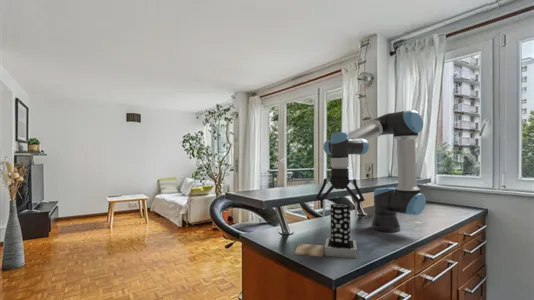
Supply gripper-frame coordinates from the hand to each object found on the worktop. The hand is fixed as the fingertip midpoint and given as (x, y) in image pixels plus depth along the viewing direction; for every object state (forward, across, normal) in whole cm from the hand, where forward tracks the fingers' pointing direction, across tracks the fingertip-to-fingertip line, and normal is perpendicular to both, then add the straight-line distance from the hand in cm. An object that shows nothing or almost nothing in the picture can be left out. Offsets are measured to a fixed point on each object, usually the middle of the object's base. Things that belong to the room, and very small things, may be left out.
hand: (339, 216), depth 120 cm
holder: (+15, 0, -2) cm, 15 cm away
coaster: (+15, +13, +2) cm, 20 cm away
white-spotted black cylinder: (+15, 0, 0) cm, 15 cm away
